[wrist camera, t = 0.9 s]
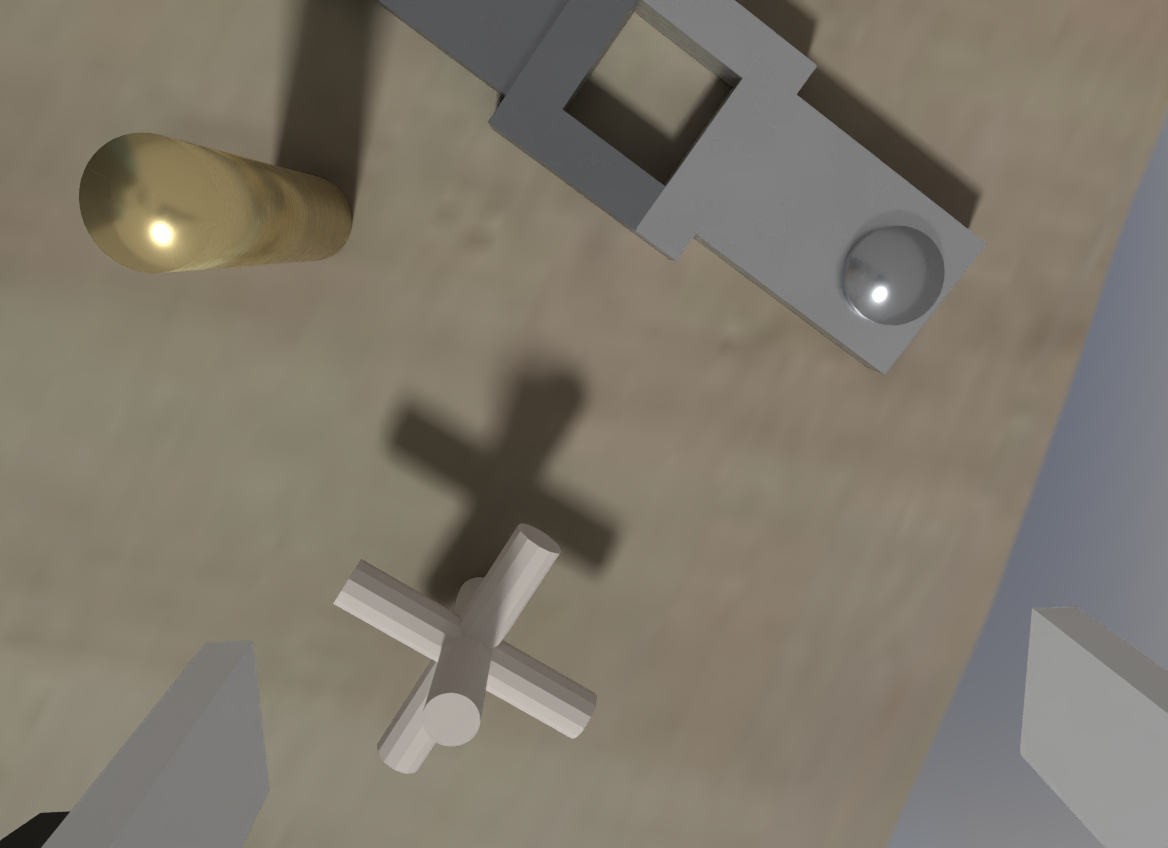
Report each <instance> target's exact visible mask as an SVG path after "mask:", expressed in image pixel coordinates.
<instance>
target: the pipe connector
mask: <svg viewBox="0 0 1168 848" xmlns="http://www.w3.org/2000/svg"><path fill="white" fill-rule="evenodd" d="M560 552H561V549H560V547H559V545H558V544H557V543H556V542H555V541H554V540H553V539H552V538H551V537H549V536H548V535H546V534H545V533H543V532H542V531H540V530H539V529H537V528H534V527H532V526H530V525H527V524H523V523H521V524H519V525H518V526H517V528H516V529H515V531H514V532H513V534H512V535H511V537H510V539H509V540H508V542H507V543H506V545H505V546H504V548H503V549H502V551H501V553H500V554H499V556H498V557H497V559H496V560H495V562H494V563H493V565H492V567H491V568H490V570H489V571H488V573H487V574H486V576H485V577H474V578H472V579H469V580H468V581H466V582H465V583H464V584H463V585H462V586H461V588H460V590H459V592H458V596H457V599H456V602H455V606H454V609H453V611H451V610H449V609H447V608H446V607H444V606H442V605H440V604H439V603H437V602H435V601H434V600H432V599H430V598H428V597H427V596H425V595H423V594H421V593H420V592H418V591H416V590H414V589H413V588H411V587H409V586H407V585H406V584H404V583H402V582H400V581H399V580H397V579H395V578H393V577H392V576H390V575H388V574H386V573H385V572H383V571H381V570H380V569H378V568H376V567H374V566H373V565H371V564H369V563H367V562H366V561H364V560H362V559H361V560H360V562H359V563H358V565H357V567H356V568H355V570H354V571H353V573H352V575H351V576H350V578H349V579H348V581H347V583H346V584H345V586H344V587H343V589H342V591H341V592H340V594H339V596H338V597H337V599H336V601H335V602H334V604H335V605H337V606H338V607H340V608H342V609H344V610H345V611H347V612H349V613H351V614H353V615H354V616H356V617H358V618H360V619H361V620H363V621H365V622H367V623H368V624H370V625H372V626H374V627H376V628H377V629H379V630H381V631H383V632H384V633H386V634H388V635H390V636H391V637H393V638H395V639H397V640H399V641H400V642H402V643H404V644H406V645H407V646H409V647H411V648H413V649H414V650H416V651H418V652H420V653H422V654H423V655H425V656H427V657H429V658H430V659H432V660H431V661H430V663H429V665H428V666H427V668H426V669H425V671H424V672H423V674H422V675H421V677H420V679H419V680H418V682H417V683H416V685H415V686H414V688H413V690H412V691H411V693H410V694H409V696H408V697H407V699H406V700H405V702H404V704H403V705H402V707H401V708H400V710H399V711H398V713H397V714H396V716H395V718H394V719H393V721H392V722H391V724H390V725H389V727H388V728H387V730H386V732H385V733H384V735H383V736H382V738H381V739H380V741H379V742H378V744H377V749H378V754H379V755H380V757H381V758H382V760H383V761H384V762H385V763H386V764H387V765H389V766H390V767H391V768H393V769H394V770H396V771H399V772H402V773H405V774H408V773H415V772H416V771H417V770H418V769H419V768H420V766H421V765H422V763H423V762H424V760H425V759H426V757H427V756H428V754H429V752H430V751H431V749H432V748H433V746H434V745H435V743H439V744H441V745H444V746H459V745H462V744H465V743H467V742H468V741H470V740H471V739H472V738H473V737H474V736H475V735H476V733H477V731H478V729H479V726H480V720H481V714H482V709H483V703H484V697H485V691H486V690H487V691H489V692H491V693H492V694H494V695H496V696H498V697H499V698H501V699H503V700H505V701H506V702H508V703H510V704H512V705H514V706H515V707H517V708H519V709H521V710H522V711H524V712H526V713H528V714H530V715H531V716H533V717H535V718H537V719H538V720H540V721H542V722H544V723H545V724H547V725H549V726H551V727H553V728H554V729H556V730H558V731H560V732H561V733H563V734H565V735H567V736H568V737H570V738H572V739H573V738H576V737H578V736H579V734H580V733H581V732H582V731H583V730H584V728H585V727H586V725H587V723H588V721H589V720H590V718H591V716H592V713H593V711H594V708H595V706H596V700H597V696H596V694H595V693H594V692H592V691H590V690H588V689H587V688H585V687H583V686H582V685H580V684H578V683H576V682H575V681H573V680H571V679H569V678H568V677H566V676H564V675H562V674H561V673H559V672H557V671H555V670H554V669H552V668H550V667H548V666H547V665H545V664H543V663H541V662H540V661H538V660H536V659H535V658H533V657H531V656H529V655H528V654H526V653H524V652H522V651H521V650H519V649H517V648H515V647H514V646H512V645H510V644H508V643H507V642H505V641H503V640H504V638H505V636H506V635H507V633H508V632H509V630H510V629H511V627H512V626H513V624H514V623H515V621H516V620H517V618H518V617H519V615H520V614H521V612H522V610H523V609H524V607H525V606H526V604H527V603H528V601H529V600H530V598H531V597H532V595H533V594H534V592H535V591H536V589H537V588H538V586H539V585H540V583H541V581H542V580H543V578H544V577H545V575H546V574H547V572H548V571H549V569H550V568H551V566H552V565H553V563H554V562H555V560H556V559H557V557H558V556H559V554H560Z"/></svg>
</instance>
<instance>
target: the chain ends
mask: <svg viewBox="0 0 1168 848" xmlns="http://www.w3.org/2000/svg"><path fill="white" fill-rule="evenodd" d="M375 1H376V2H377V3H379V4H380V5H381V6H383V7H384V8H385V9H387V10H388V11H389V12H391V13H392V14H393V15H395V16H396V17H398V18H399V19H400V20H402V21H403V22H404V23H406V24H407V25H408V26H410V27H411V28H412V29H414V30H415V31H416V32H418V33H419V34H420V35H422V36H423V37H424V38H426V39H427V40H428V41H430V42H431V43H432V44H434V45H435V46H436V47H438V48H439V49H440V50H442V51H443V52H445V53H446V54H447V55H449V56H450V57H451V58H453V59H454V60H455V61H457V62H458V63H459V64H461V65H462V66H463V67H465V68H466V69H467V70H469V71H470V72H471V73H473V74H474V75H475V76H477V77H478V78H479V79H481V80H482V81H483V82H485V83H486V84H487V85H489V86H490V87H492V88H493V89H494V90H496V91H497V92H498V93H500V94H501V95H502V96H504V99H503V100H502V102H501V103H500V105H499V106H498V108H497V109H496V111H495V112H494V114H493V115H492V117H491V118H490V120H489V121H488V122H489V124H490V126H491V127H492V129H494V130H495V131H496V132H498V133H499V134H500V135H502V136H503V137H504V138H506V139H507V140H508V141H510V142H511V143H513V144H514V145H515V146H517V147H518V148H519V149H521V150H522V151H523V152H525V153H526V154H527V155H529V156H530V157H532V158H533V159H534V160H536V161H537V162H538V163H540V164H541V165H542V166H544V167H545V168H546V169H548V170H549V171H550V172H552V173H553V174H555V175H556V176H557V177H559V178H560V179H561V180H563V181H564V182H565V183H567V184H568V185H569V186H571V187H572V188H574V189H575V190H576V191H578V192H579V193H580V194H582V195H583V196H584V197H586V198H587V199H588V200H590V201H591V202H593V203H594V204H595V205H597V206H598V207H599V208H601V209H602V210H603V211H605V212H606V213H607V214H609V215H610V216H612V217H613V218H614V219H616V220H617V221H618V222H620V223H621V224H622V225H624V226H625V227H626V228H628V229H629V230H630V231H632V232H633V233H635V234H636V235H637V236H639V237H640V238H641V239H643V240H644V241H645V242H647V243H648V244H649V245H651V246H652V247H654V248H655V249H656V250H658V251H659V252H660V253H662V254H663V255H664V256H666V257H667V258H668V259H670V260H674V261H677V259H678V258H679V257H680V255H681V254H682V252H683V251H684V250H685V248H686V247H687V246H688V244H689V243H690V241H691V240H692V239H693V238H694V239H696V240H697V241H698V242H700V243H701V244H702V245H704V246H705V247H706V248H708V249H709V250H710V251H712V252H713V253H714V254H716V255H717V256H718V257H720V258H721V259H722V260H724V261H725V262H727V263H728V264H729V265H731V266H732V267H733V268H735V269H736V270H737V271H739V272H740V273H741V274H743V275H744V276H745V277H747V278H748V279H749V280H751V281H752V282H753V283H755V284H756V285H757V286H759V287H760V288H761V289H763V290H764V291H765V292H767V293H768V294H769V295H771V296H772V297H774V298H775V299H776V300H778V301H779V302H780V303H782V304H783V305H784V306H786V307H787V308H788V309H790V310H791V311H792V312H794V313H795V314H796V315H798V316H799V317H800V318H802V319H803V320H804V321H806V322H807V323H808V324H810V325H811V326H812V327H814V328H815V329H817V330H818V331H819V332H821V333H822V334H823V335H825V336H826V337H827V338H829V339H830V340H831V341H833V342H834V343H835V344H837V345H838V346H839V347H841V348H842V349H843V350H845V351H846V352H847V353H849V354H850V355H851V356H853V357H854V358H855V359H857V360H858V361H859V362H861V363H862V364H864V365H865V366H866V367H868V368H870V369H872V370H875V371H877V372H879V373H882V374H884V375H885V374H886V373H887V371H888V370H889V369H890V367H891V366H892V365H893V364H894V362H895V361H896V360H897V358H898V357H899V356H900V355H901V353H902V352H903V351H904V349H905V348H906V347H907V346H908V344H909V343H910V342H911V340H912V339H913V338H914V337H915V335H916V334H917V333H918V331H919V330H920V329H921V328H922V326H923V325H924V324H925V322H926V321H927V320H928V319H929V317H930V316H931V315H932V313H933V312H934V311H935V310H936V308H937V307H938V306H939V305H940V303H941V302H942V301H943V299H944V298H945V297H946V296H947V294H948V293H949V292H950V290H951V289H952V288H953V287H954V285H955V284H956V283H957V281H958V280H959V279H960V278H961V276H962V275H963V274H964V272H965V271H966V270H967V269H968V267H969V266H970V265H971V263H972V262H973V261H974V260H975V258H976V257H977V256H978V254H979V253H980V252H981V251H982V249H983V248H984V247H985V245H986V243H985V242H984V241H983V240H981V239H980V238H979V237H978V236H976V235H975V234H974V233H972V232H971V231H970V230H969V229H967V228H966V227H965V226H964V225H962V224H961V223H960V222H958V221H957V220H956V219H955V218H953V217H952V216H951V215H950V214H948V213H947V212H946V211H944V210H943V209H942V208H941V207H939V206H938V205H937V204H936V203H934V202H933V201H932V200H930V199H929V198H928V197H927V196H925V195H924V194H923V193H921V192H920V191H919V190H918V189H916V188H915V187H914V186H913V185H911V184H910V183H909V182H907V181H906V180H905V179H904V178H902V177H901V176H900V175H899V174H897V173H896V172H895V171H893V170H892V169H891V168H890V167H888V166H887V165H886V164H885V163H883V162H882V161H881V160H879V159H878V158H877V157H876V156H874V155H873V154H872V153H871V152H869V151H868V150H867V149H865V148H864V147H863V146H862V145H860V144H859V143H858V142H857V141H855V140H854V139H853V138H851V137H850V136H849V135H848V134H846V133H845V132H844V131H843V130H841V129H840V128H839V127H837V126H836V125H835V124H834V123H832V122H831V121H830V120H828V119H827V118H826V117H825V116H823V115H822V114H821V113H820V112H818V111H817V110H816V109H814V108H813V107H812V106H811V105H809V104H808V103H807V102H806V101H804V100H803V99H802V98H800V97H799V96H798V95H797V93H798V92H799V90H800V89H801V88H802V86H803V85H804V83H805V82H806V81H807V79H808V78H809V77H810V75H811V74H812V72H813V71H814V70H815V68H816V67H817V65H816V64H815V63H813V62H812V61H811V60H810V59H808V58H807V57H806V56H805V55H803V54H802V53H801V52H799V51H798V50H797V49H796V48H794V47H793V46H792V45H791V44H789V43H788V42H787V41H786V40H784V39H783V38H782V37H781V36H779V35H778V34H777V33H776V32H774V31H773V30H772V29H770V28H769V27H768V26H767V25H765V24H764V23H763V22H762V21H760V20H759V19H758V18H757V17H755V16H754V15H753V14H752V13H750V12H749V11H748V10H747V9H745V8H744V7H743V6H741V5H740V4H739V3H738V2H736V1H735V0H375ZM634 11H635V12H636V13H637V14H638V15H640V16H641V17H642V18H644V19H645V20H646V21H647V22H649V23H650V24H651V25H653V26H654V27H655V28H656V29H658V30H659V31H660V32H662V33H663V34H664V35H665V36H667V37H668V38H669V39H671V40H672V41H673V42H674V43H676V44H677V45H678V46H680V47H681V48H682V49H683V50H685V51H686V52H687V53H689V54H690V55H691V56H692V57H694V58H695V59H696V60H698V61H699V62H700V63H701V64H703V65H704V66H705V67H707V68H708V69H709V70H710V71H712V72H713V73H714V74H716V75H717V76H718V77H719V78H721V79H722V80H723V81H725V82H726V83H727V84H728V85H730V86H731V87H732V89H731V90H730V92H729V93H728V95H727V96H726V98H725V99H724V100H723V102H722V103H721V105H720V106H719V107H718V109H717V110H716V112H715V113H714V114H713V116H712V117H711V119H710V120H709V121H708V123H707V124H706V126H705V127H704V129H703V130H702V131H701V133H700V134H699V136H698V137H697V138H696V140H695V141H694V143H693V144H692V145H691V147H690V148H689V150H688V151H687V153H686V154H685V155H684V157H683V158H682V160H681V161H680V162H679V164H678V165H677V167H676V168H675V169H674V171H673V172H672V174H671V175H670V176H669V178H668V179H667V181H666V182H665V184H664V185H663V184H661V183H660V182H659V181H657V180H656V179H655V178H653V177H652V176H651V175H649V174H648V173H647V172H645V171H644V170H643V169H641V168H640V167H639V166H637V165H636V164H635V163H633V162H632V161H631V160H629V159H628V158H627V157H625V156H624V155H623V154H621V153H620V152H619V151H617V150H616V149H615V148H613V147H612V146H611V145H609V144H608V143H607V142H605V141H604V140H603V139H601V138H600V137H599V136H597V135H596V134H595V133H593V132H592V131H591V130H589V129H588V128H587V127H585V126H584V125H583V124H581V123H580V122H579V121H577V120H576V119H575V118H573V117H572V116H571V115H569V114H568V113H567V112H566V111H567V109H568V108H569V106H570V105H571V103H572V102H573V100H574V99H575V97H576V96H577V95H578V93H579V92H580V90H581V89H582V87H583V86H584V84H585V83H586V81H587V80H588V78H589V77H590V75H591V74H592V72H593V71H594V70H595V68H596V67H597V65H598V64H599V62H600V61H601V59H602V58H603V56H604V55H605V53H606V52H607V50H608V49H609V48H610V46H611V45H612V43H613V42H614V40H615V39H616V37H617V36H618V34H619V33H620V31H621V30H622V28H623V27H624V26H625V24H626V23H627V21H628V20H629V18H630V17H631V15H632V14H633V12H634Z"/></svg>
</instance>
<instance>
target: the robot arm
mask: <svg viewBox="0 0 1168 848" xmlns="http://www.w3.org/2000/svg"><path fill="white" fill-rule="evenodd" d="M1020 754H1021V755H1022V756H1023V757H1024V759H1025V760H1026V761H1027V762H1028V763H1029V764H1030V765H1031V766H1032V767H1033V768H1034V770H1035V771H1036V772H1037V773H1038V774H1039V775H1040V776H1041V777H1042V778H1043V779H1044V781H1046V783H1047V784H1048V785H1049V786H1050V787H1051V788H1052V789H1053V791H1054V792H1055V793H1056V794H1057V795H1058V796H1059V797H1060V798H1061V799H1062V800H1063V802H1064V803H1065V804H1066V805H1067V806H1068V807H1069V808H1070V809H1071V810H1072V811H1073V813H1075V815H1076V816H1077V817H1078V818H1079V819H1080V820H1081V822H1082V823H1083V824H1084V825H1085V826H1086V827H1087V828H1088V829H1089V830H1090V831H1091V832H1092V834H1093V835H1094V836H1095V837H1096V838H1097V839H1098V840H1099V841H1100V842H1101V844H1102V845H1103V846H1104V847H1105V848H1168V671H1166V670H1165V669H1164V668H1162V667H1161V666H1159V665H1158V664H1157V663H1155V662H1154V661H1152V660H1151V659H1150V658H1148V657H1147V656H1145V655H1144V654H1143V653H1141V652H1140V651H1138V650H1137V649H1136V648H1134V647H1133V646H1131V645H1130V644H1129V643H1127V642H1126V641H1124V640H1123V639H1122V638H1120V637H1119V636H1117V635H1116V634H1115V633H1113V632H1112V631H1110V630H1109V629H1107V628H1106V627H1105V626H1103V625H1102V624H1100V623H1099V622H1098V621H1096V620H1095V619H1093V618H1092V617H1091V616H1089V615H1088V614H1086V613H1085V612H1084V611H1082V610H1081V609H1079V608H1078V607H1076V606H1071V607H1070V606H1068V607H1044V608H1032V617H1031V629H1030V641H1029V652H1028V664H1027V677H1026V687H1025V700H1024V711H1023V723H1022V735H1021V746H1020ZM269 790H270V789H269V780H268V771H267V762H266V752H265V743H264V734H263V725H262V716H261V706H260V697H259V688H258V679H257V670H256V660H255V651H254V642H253V641H232V642H208V643H206V644H205V645H204V646H203V647H202V649H201V650H200V651H199V652H198V653H197V655H196V656H195V657H194V658H193V660H192V661H191V662H190V663H189V665H188V666H187V667H186V668H185V670H184V671H183V672H182V673H181V675H180V676H179V677H178V678H177V680H176V681H175V682H174V683H173V685H172V686H171V687H170V688H169V690H168V691H167V692H166V693H165V695H164V696H163V697H162V698H161V699H160V701H159V702H158V703H157V704H156V706H155V707H154V708H153V709H152V711H151V712H150V713H149V714H148V716H147V717H146V718H145V719H144V721H143V722H142V723H141V724H140V726H139V727H138V728H137V729H136V731H135V732H134V733H133V734H132V736H131V737H130V738H129V739H128V741H127V742H126V743H125V744H124V745H123V747H122V748H121V749H120V750H119V752H118V753H117V754H116V755H115V757H114V758H113V759H112V760H111V762H110V763H109V764H108V765H107V767H106V768H105V769H104V770H103V772H102V773H101V774H100V775H99V777H98V778H97V779H96V780H95V782H94V783H93V784H92V785H91V787H90V788H89V789H88V790H87V791H86V793H85V794H84V795H83V796H82V798H81V799H80V800H79V801H78V803H77V804H76V805H75V806H74V808H73V809H72V810H71V811H70V812H50V813H40V814H38V815H37V816H35V817H34V818H32V819H31V820H29V821H28V822H27V823H25V824H24V825H22V826H21V827H19V828H18V829H16V830H15V831H13V832H12V833H10V834H9V835H8V836H6V837H5V838H3V839H2V840H1V841H0V848H242V846H243V844H244V842H245V839H246V837H247V835H248V833H249V831H250V829H251V827H252V825H253V823H254V821H255V819H256V817H257V815H258V813H259V810H260V808H261V806H262V804H263V802H264V800H265V798H266V796H267V794H268V792H269Z"/></svg>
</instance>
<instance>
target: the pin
mask: <svg viewBox="0 0 1168 848" xmlns="http://www.w3.org/2000/svg"><path fill="white" fill-rule="evenodd" d="M79 202H80V210H81V215H82V218H83V221H84V224H85V226H86V228H87V230H88V232H89V234H90V236H91V237H92V239H93V240H94V242H95V243H96V244H97V245H98V247H99V248H100V249H101V250H102V251H103V252H104V253H105V254H106V255H108V256H109V257H110V258H112V259H113V260H114V261H116V262H118V263H119V264H121V265H123V266H125V267H128V268H130V269H133V270H136V271H140V272H146V273H164V272H177V271H190V270H203V269H215V268H228V267H241V266H253V265H266V264H279V263H292V262H304V261H316V260H322V259H326V258H328V257H330V256H332V255H334V254H335V253H337V252H338V251H339V250H340V249H341V248H342V247H343V246H344V244H345V243H346V241H347V239H348V237H349V235H350V232H351V227H352V214H351V209H350V206H349V203H348V201H347V199H346V197H345V196H344V194H343V193H342V192H341V191H340V190H339V189H338V187H336V186H335V185H334V184H333V183H331V182H329V181H328V180H326V179H323V178H321V177H317V176H314V175H310V174H306V173H302V172H298V171H295V170H291V169H287V168H283V167H279V166H276V165H272V164H268V163H264V162H260V161H257V160H253V159H249V158H245V157H241V156H238V155H234V154H230V153H226V152H222V151H219V150H215V149H211V148H207V147H203V146H200V145H196V144H192V143H188V142H184V141H181V140H177V139H173V138H169V137H165V136H162V135H158V134H152V133H132V134H127V135H123V136H120V137H118V138H115V139H113V140H111V141H110V142H108V143H106V144H105V145H104V146H102V147H101V148H100V149H99V150H98V151H97V152H96V153H95V154H94V155H93V156H92V158H91V159H90V161H89V162H88V164H87V166H86V168H85V170H84V173H83V176H82V179H81V183H80V190H79Z"/></svg>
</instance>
